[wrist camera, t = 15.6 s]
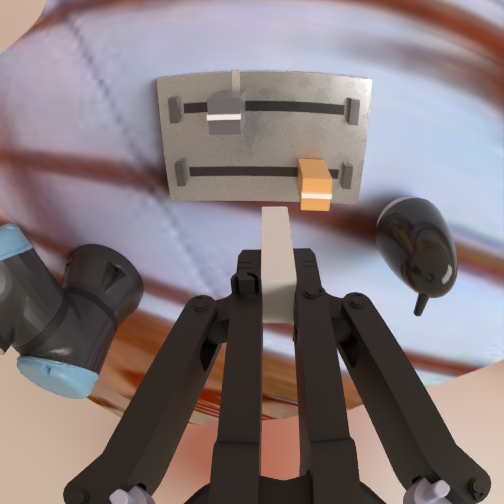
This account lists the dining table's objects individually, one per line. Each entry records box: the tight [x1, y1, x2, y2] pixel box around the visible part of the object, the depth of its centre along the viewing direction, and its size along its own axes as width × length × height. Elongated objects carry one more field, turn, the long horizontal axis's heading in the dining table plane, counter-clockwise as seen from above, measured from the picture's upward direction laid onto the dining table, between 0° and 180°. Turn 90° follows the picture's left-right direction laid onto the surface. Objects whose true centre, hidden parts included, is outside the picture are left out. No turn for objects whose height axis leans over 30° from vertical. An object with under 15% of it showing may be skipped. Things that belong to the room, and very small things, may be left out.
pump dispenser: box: [375, 196, 458, 316], centre depth 35 cm, size 10×10×15 cm
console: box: [156, 70, 372, 204], centre depth 34 cm, size 24×16×3 cm
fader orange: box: [297, 158, 333, 211], centre depth 33 cm, size 3×4×6 cm
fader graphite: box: [207, 91, 246, 135], centre depth 29 cm, size 3×4×6 cm
